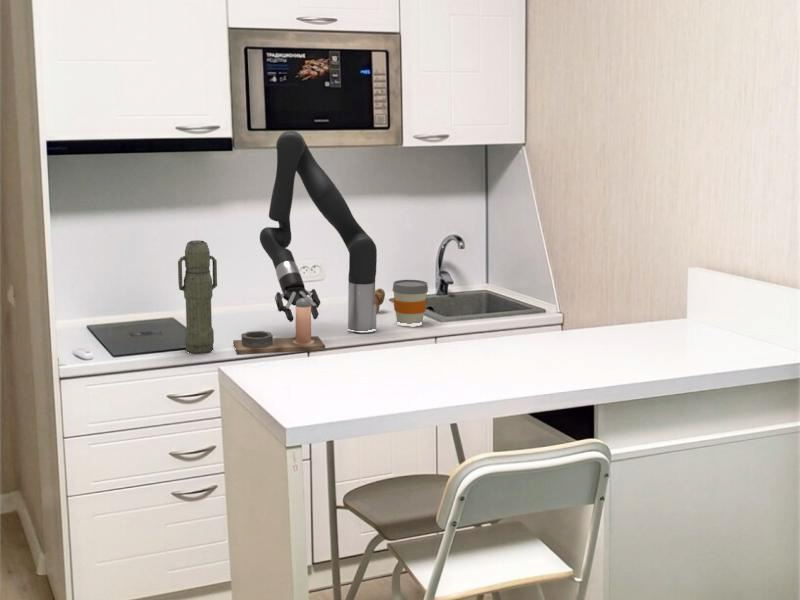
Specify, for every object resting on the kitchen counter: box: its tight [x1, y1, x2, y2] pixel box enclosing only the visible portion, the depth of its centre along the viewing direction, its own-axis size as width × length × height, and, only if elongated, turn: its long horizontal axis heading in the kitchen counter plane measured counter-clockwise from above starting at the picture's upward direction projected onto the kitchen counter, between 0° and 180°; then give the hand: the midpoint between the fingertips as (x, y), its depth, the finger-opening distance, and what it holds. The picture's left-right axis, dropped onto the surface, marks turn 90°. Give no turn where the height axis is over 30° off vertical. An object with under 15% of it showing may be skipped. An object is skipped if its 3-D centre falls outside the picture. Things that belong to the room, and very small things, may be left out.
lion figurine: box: [375, 288, 386, 314], centre depth 370 cm, size 15×5×9 cm, turn 131°
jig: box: [232, 330, 326, 355], centre depth 323 cm, size 28×12×4 cm, turn 105°
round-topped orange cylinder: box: [295, 298, 312, 344], centre depth 323 cm, size 5×5×14 cm
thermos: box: [177, 239, 218, 355], centre depth 314 cm, size 9×12×35 cm
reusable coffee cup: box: [392, 279, 429, 324], centre depth 355 cm, size 13×12×15 cm
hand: (304, 319), depth 323 cm, fingers open, 8 cm apart
